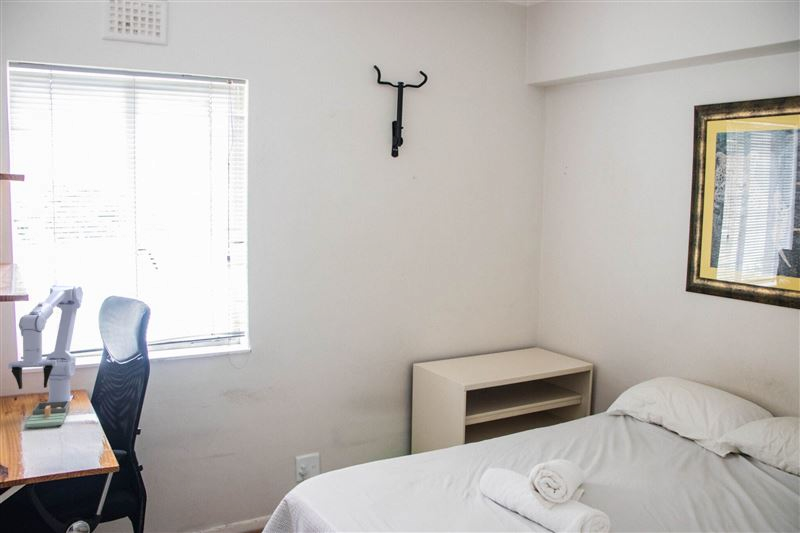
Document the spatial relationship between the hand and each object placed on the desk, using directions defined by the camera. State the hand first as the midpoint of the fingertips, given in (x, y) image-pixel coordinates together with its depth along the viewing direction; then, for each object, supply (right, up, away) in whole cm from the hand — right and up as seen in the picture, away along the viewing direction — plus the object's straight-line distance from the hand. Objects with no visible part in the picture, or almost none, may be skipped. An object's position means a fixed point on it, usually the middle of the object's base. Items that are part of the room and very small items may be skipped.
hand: (33, 387), depth 229 cm
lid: (+10, -10, -10) cm, 17 cm away
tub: (+6, -10, +1) cm, 11 cm away
